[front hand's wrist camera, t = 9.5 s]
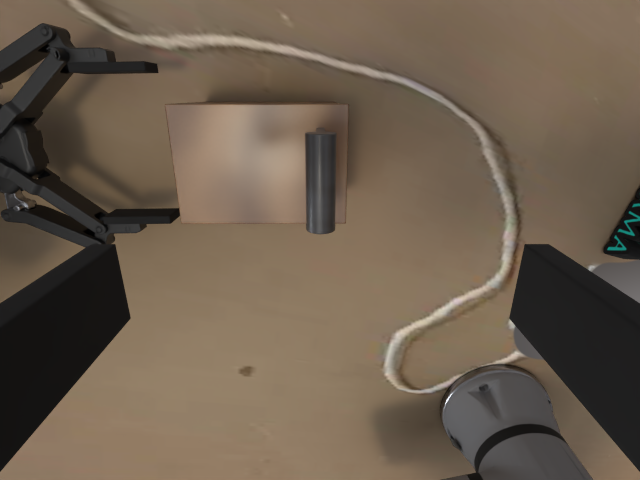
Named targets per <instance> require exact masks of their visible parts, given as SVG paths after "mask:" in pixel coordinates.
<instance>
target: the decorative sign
mask: <svg viewBox="0 0 640 480" xmlns="http://www.w3.org/2000/svg"><path fill="white" fill-rule="evenodd" d="M636 198H637V199H639V200H633V201H632V202H631V203H630V205H629V207H628V209H627V210H626V212H625V217H624V218H622V220H621V222H620V224H621V225H619V226H617V227H616V229H615V231H614V233H613V234H612V236H611V241H612V242H613V243H608V244H607V245H606V246H605V248H604V253H605V254H608V255H612V256H615V257H619V258H623V259H639V260H640V188H639V190H638V191H637V193H636Z"/></svg>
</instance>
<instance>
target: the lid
mask: <svg viewBox="0 0 640 480" xmlns="http://www.w3.org/2000/svg"><path fill="white" fill-rule="evenodd" d="M165 109H166V116H167V123H168V131H169V138H170V145H171V152H172V160H173V167H174V174H175V181H176V188H177V196H178V203H179V210H180V217H181V223H182V224H306V229H307V231H308V232H310V233H314V234H327V233H331V232H333V231H334V230H335V223H346V197H347V158H348V119H349V104H165Z"/></svg>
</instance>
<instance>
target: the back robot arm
mask: <svg viewBox="0 0 640 480" xmlns="http://www.w3.org/2000/svg"><path fill="white" fill-rule="evenodd" d="M44 58H45V59H44ZM43 59H44V61H43V62H42V63H41V64H40V66H39V67H38V68H37V69H36V71H35V72H34V73H33V74H32V76H31V77H30V78H29V79H28V81H27V82H26V83H25V84H24V86H23V87H22V88H21V89H20V91H19V92H18V93H17V94H16V96H15V97H14V98H13V99H12V100H11V101H10V102H8V103H6V104H4V105H2V104H0V192H2V193H4V194H5V198H6V203H7V208H8V209H6V210H3V211H2V212H1V217H2V218H3V219H4V220H5V221H8V222H17V223H26V224H29V225H31V226H34V227H36V228H39V229H41V230H44V231H46V232H49V233H51V234H54V235H56V236H59V237H61V238H64V239H66V240H69V241H71V242H74V243H76V244H78V245H81V246H83V247H88V246H89V245H91V244H112V243H113V242H114V241H115V237H114V233H137V232H140V231H142V230H143V229H144V228H145V227H147V225H146V224H171V223H172V222H173V221H174V220H175V219H176V218H178V217H179V216H180V211H179V208H171V209H116V210H114V211H113V212H111V213H107V212H106V211H104V210H103V209H101V208H100V207H98V206H97V205H96V204H94V203H93V202H91V201H90V200H88V199H87V198H85V197H84V196H82V195H81V194H79V193H78V192H76V191H75V190H73V189H72V188H70V187H69V186H68V185H66V184H65V183H63V182H62V181H60V177H59V176H57V175H56V174H55V173H53V172H52V171H50V170H49V169H47V168H46V165H47V164H48V163H49V160H48V157H47V154H46V152H45V150H44V148H43V138H42V134H41V131H38V130H37V129H36V127H35V126H34V124H35V122H36V121H37V120H38V119H39V118H40V117H41V115H42V114H43V112H42V110H43V109H44V108H45V106H46V105H47V104H48V103H49V102H50V100H51V99H52V98H53V97H54V96H55V95H56V93H57V92H58V91H59V90H60V89H61V87H62V86H63V85H64V84H65V83H66V81H67V80H68V79H69V78H70V77H71V75H72V74H73V73H82V74H122V73H158V67H157V64H155V63H150V62H145V61H138V62H116V59H115V53H114V52H113V51H110V50H108V49H103V48H75V47H74V46H73V44H72V43H71V41H70V34H69V32H68V31H67V30H66V29H64V28H60V27H56V26H52V25H49V24H44V23H42V24H40V25H38V26H37V27H35V28H34V29H32V30H31V31H29V32H28V33H26V34H25V35H23V36H22V37H20V38H19V39H18V40H16V41H15V42H13V43H12V44H10V45H9V46H7V47H6V48H4V49H3V50H1V51H0V89H2V88H3V85H2V84H1V83H4V82H8V81H10V80H12V79H14V78H15V77H17V76H18V75H20V74H21V73H23V72H24V71H26V70H27V69H29V68H30V67H32V66H33V65H35V64H37V63H38V62H40V61H41V60H43ZM37 178H38V179H37ZM23 190H25V191H27V192H28V193H30V194H33V195H38V196H40V197H42V198H43V199H45V200H46V201H48V202H49V203H51V204H52V205H54V206H55V207H57V208H58V209H60V210H61V211H63V212H64V213H66V214H67V215H66V214H63V213H61V212H58V211H56V210H54V209H51V208H49V207H46V206H42V205H36V201H35V200H30V199H28V198H26V197H24V196H23V194H22V192H21V191H23ZM68 215H69V216H68Z"/></svg>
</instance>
